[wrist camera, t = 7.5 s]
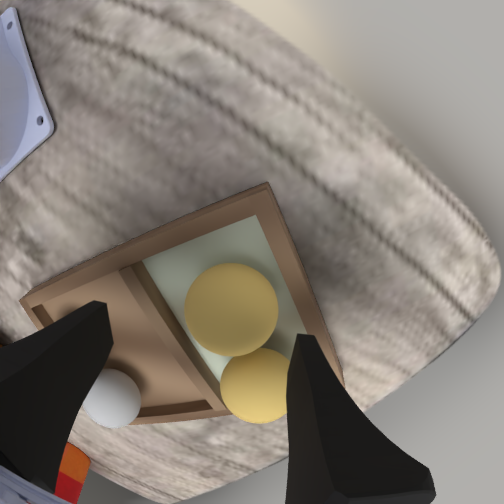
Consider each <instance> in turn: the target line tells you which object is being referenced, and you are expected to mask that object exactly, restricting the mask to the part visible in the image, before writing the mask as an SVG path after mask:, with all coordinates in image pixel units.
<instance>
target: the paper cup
mask: <svg viewBox="0 0 504 504" xmlns="http://www.w3.org/2000/svg"><path fill="white" fill-rule="evenodd" d="M90 462H91V461H90V459H89V457H88V456H87V455H86V454H85V453H84V452H82V451H81V450H80V449H78V448H77V447H75V446H74V445H72V444H70V443H69V442H67V443H66V446H65V450H64V453H63V457H62V461H61V464H60V468H59V473H58V478H57V483H56V489H55V494H53V495H55V496H57V497H59V498H61V499H63V500H66V501H68V502H70V503H72V504H77V501H78V498H79V495H80V492H81V490H82V486H83V484H84V481H85V478H86V475H87V472H88V469H89V466H90ZM26 502H27V501H26ZM27 503H28V504H31V503H29V502H27Z"/></svg>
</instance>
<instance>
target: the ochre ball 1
mask: <svg viewBox="0 0 504 504" xmlns="http://www.w3.org/2000/svg"><path fill="white" fill-rule="evenodd" d="M184 315H185V320H186V324H187V326H188V329H189V331H190V333H191V334H192V336H193V337H194V339H195V340H196V341H197V342H198V343H199V344H200V345H201V346H202V347H204V348H205V349H207V350H209V351H210V352H213V353H215V354H218V355H222V356H241V355H245V354H248V353H251V352H253V351H255V350H256V349H258V348H259V347H261V346H262V345H263V344H264V343H265V342H266V341H267V340H268V339H269V337H270V336H271V334H272V333H273V331H274V329H275V326H276V323H277V320H278V301H277V297H276V294H275V291H274V289H273V287H272V286H271V284H270V282H269V281H268V280H267V279H266V278H265V277H264V276H263V275H262V274H261V273H260V272H258V271H257V270H255V269H254V268H251V267H249V266H247V265H243V264H239V263H223V264H218V265H215V266H213V267H211V268H209V269H207V270H205V271H204V272H202V273H201V274H200V275H199V276H198V277H197V278H196V279H195V280H194V282H193V283H192V284H191V286H190V288H189V290H188V292H187V295H186V299H185V304H184Z"/></svg>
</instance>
